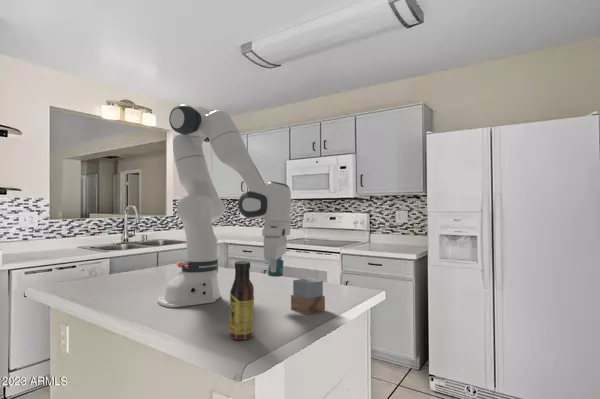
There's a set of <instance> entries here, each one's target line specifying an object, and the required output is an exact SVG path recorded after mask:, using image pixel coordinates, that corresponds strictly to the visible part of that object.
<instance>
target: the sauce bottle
mask: <svg viewBox="0 0 600 399" xmlns="http://www.w3.org/2000/svg"><path fill="white" fill-rule="evenodd" d="M250 269H251V261H249V260H248V261H247V260H237V261H234V273H235V274H234V280H233V283H232V286H231V288H230V292H229V333H230V337H231V339H232V340H236V341H245V340H249V339H251V338H252V337H253V336H254V328H255V327H254V326H255V324H254V323H255V318H254V317H255V296H254V295H255V294H254V293H255V290H254V285H253V283H252V281H251V279H250V277H251V276H250Z"/></svg>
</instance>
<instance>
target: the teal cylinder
mask: <svg viewBox="0 0 600 399" xmlns="http://www.w3.org/2000/svg"><path fill="white" fill-rule="evenodd" d="M267 265H268V266H267V267H268V269H267V270H268V271H267V272H268V273H267V276H269V277H273V278H275V277H277V278H278V277H283V276H284V260H283V259H281V260H280V259H277V262H276V266H277V271H276V272H271V266H270V261H269V260H268V264H267Z"/></svg>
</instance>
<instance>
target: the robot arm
mask: <svg viewBox="0 0 600 399" xmlns="http://www.w3.org/2000/svg"><path fill="white" fill-rule="evenodd" d="M168 118H169V120H168V121H169V125H170V127H171V129H172V130H173V131H174V132H176V133H177V134H176V135H174V136H173V139H172V152H173V157H174V162H175V167H176V171H177V174H178V175H177V176H178V179H179V181H180V182H179V183H180V184H181V186H182V187H183V188H184V189H185V192H186V193H187V194H188V195H185V196H183V197H182V198H181V199H180V200H179V201H178V202H177V205H176V213H177V216H178V218H179V219H180V220H181V223H182V226H183V228H184V233H185V238H186V260H185V261H184V262H182V261H177V263H176V266H177V267H178V268H181V271H180V272H179V273H178V274H177V275H175V276H174V277H173V278H172V279H170V280H169V281H168V282H167V283H166V284H165V287H164V293H163V296H159V297H158V298H157V303H158V304H159V305H161V306H162V307H166V308H180V307H187V306H195V305H202V304H203V305H205V304H211V303H212V304H213V303H216V301H217V300H218V299H220V298H221V297H222V296H221V292H220V287H219V280H218V271H219V261H218V260H219V259H218V239H217V237H216V235H215V233H214V228H213V224H212V223H214V222H216V221H218V220H219V219H221V218H222V216H223V215H224V213H225V203H224V201H222V199H221V198H220V196H219V194H218V192H217V189H216V187H215V185H214V183H213V181H212V178H211V176H210V173H209V169H208V165H207V162H206V157H205V153H204V150H203V144H204V142H206V143H209V144H210V145H211V148H212V149H213V153H214V154H215V156H216V157H217V159H218V160H219V161H220V162H221V163H223V165H226V166H228V167H229V168H231V169H233V170H234V171H236V172H237V174H239V175H240V177H241V179H243V181H244V183H245V185H246V187H247V189H248V191H246V192H244V193H242V194H241V196H240V197H239V199H238V204H237V207H238V210H239V213H240V214H241V215H242V216H243V217H244V218H248V219H252V220H253V219H263V220H264V225H263V229H262V230H261V231H262V232H261V235H262V237H263V257H264V260H265V261H268V262H269V261H270V266H271V272H276V271H277V266H276V262H277V259H280V260H283V259H282V258H283V255H285V254H286V252H287V246H288V245H287V242H288V241H287V236H290V235H291V216H290V214H291V210H292V194H291V188H290V186H289V185H288V184H287V183H283V182H282V183H281V182H278V181H272V180H271V181H268V182H267V183H265V181H264V180H263V178H262V176H261V174H260V171H259V170H258V168H257V167H256V166H257V165H255V162H254V161H253V159H252V156H251V154H250V152H249V151H248V149H247V146H246V145H245V141H244V140H243V137H242V135H241V133H240V131H239V129H238V127H237V125H236V123H235V122H234V120H233V119H232V117H231V115H229V113H228V112H226V111H225V110H221V109H218V110H213V109H209V108H205V107H202V106H193V105H189V104H179V105H175V106H174V107H173V108H172V109H171V111H170V113H169V117H168Z"/></svg>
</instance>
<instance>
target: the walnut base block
mask: <svg viewBox="0 0 600 399" xmlns="http://www.w3.org/2000/svg"><path fill="white" fill-rule="evenodd" d="M290 310H291V311H294V312H297V313H300V314H303V315H306V316H310V315H313V314H319V313H321V312H325V311H326V296H325V295H323V296H321V297H316V298H311V299H304V298H300V297H297V296H294V295H293V294H292V295H291V294H290Z"/></svg>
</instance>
